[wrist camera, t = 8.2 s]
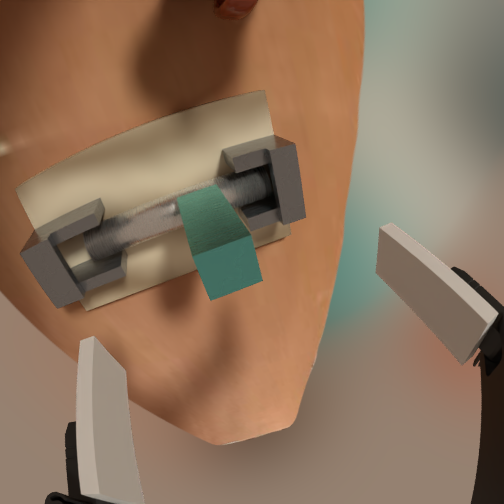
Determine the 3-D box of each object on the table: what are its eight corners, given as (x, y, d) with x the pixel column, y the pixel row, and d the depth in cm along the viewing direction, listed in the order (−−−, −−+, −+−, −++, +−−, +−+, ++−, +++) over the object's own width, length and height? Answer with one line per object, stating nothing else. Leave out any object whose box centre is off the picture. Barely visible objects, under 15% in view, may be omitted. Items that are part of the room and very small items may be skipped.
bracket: (34, 229, 20) (19, 253, 17) (100, 197, 21) (91, 217, 18) (65, 280, 23) (57, 308, 20) (127, 254, 24) (126, 281, 21)
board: (19, 185, 18) (14, 188, 17) (260, 90, 21) (264, 90, 21) (87, 304, 26) (86, 311, 25) (287, 230, 29) (291, 234, 29)
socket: (222, 149, 22) (235, 160, 19) (273, 134, 23) (295, 143, 20) (239, 215, 26) (254, 236, 23) (285, 199, 26) (305, 217, 23)
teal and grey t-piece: (86, 221, 21) (56, 309, 13) (255, 158, 23) (323, 209, 15) (101, 250, 23) (85, 344, 14) (262, 190, 25) (327, 254, 16)
